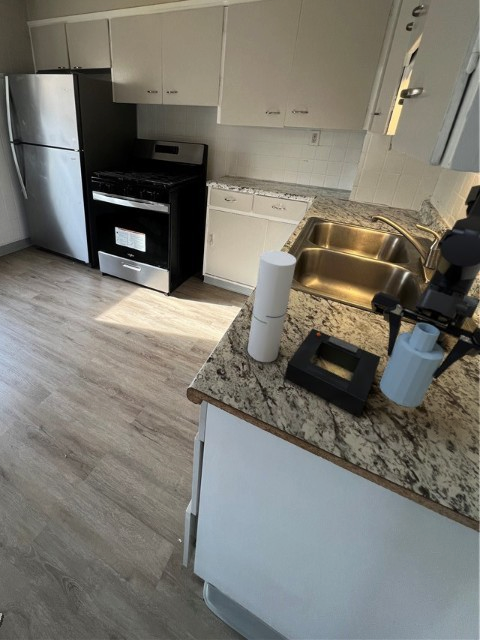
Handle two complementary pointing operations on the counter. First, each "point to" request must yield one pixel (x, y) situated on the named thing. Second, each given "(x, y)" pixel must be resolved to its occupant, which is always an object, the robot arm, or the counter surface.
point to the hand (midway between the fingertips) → (410, 366)
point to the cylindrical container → (270, 304)
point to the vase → (412, 365)
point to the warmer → (328, 383)
